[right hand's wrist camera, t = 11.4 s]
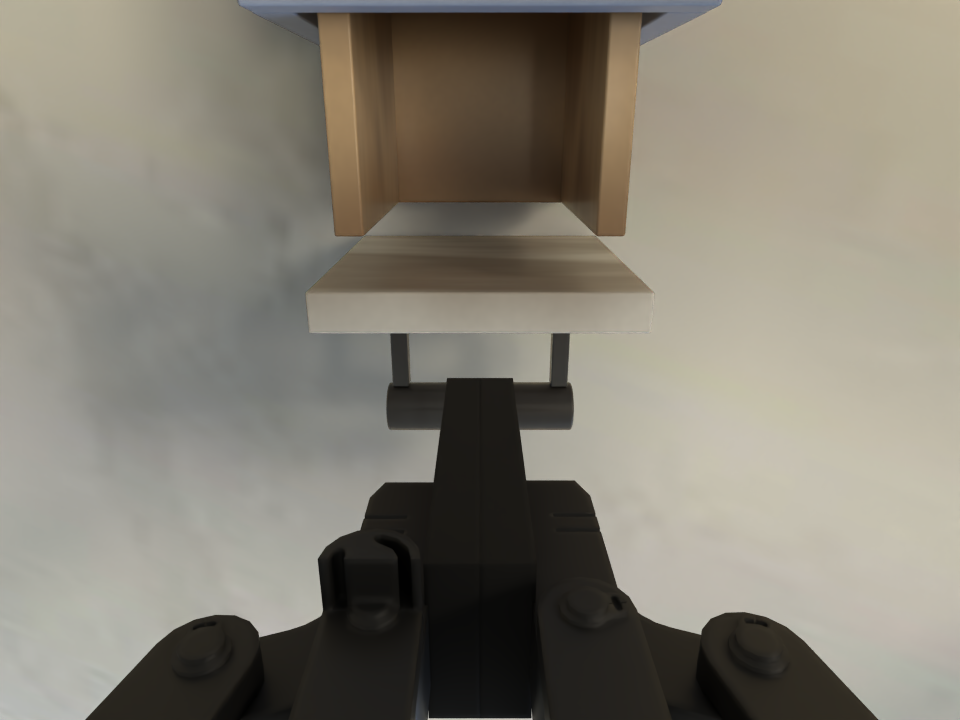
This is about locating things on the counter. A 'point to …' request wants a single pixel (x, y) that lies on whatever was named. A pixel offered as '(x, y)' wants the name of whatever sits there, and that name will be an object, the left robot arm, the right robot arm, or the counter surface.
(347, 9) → the cabinet
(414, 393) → the drawer
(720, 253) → the counter surface
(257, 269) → the counter surface
